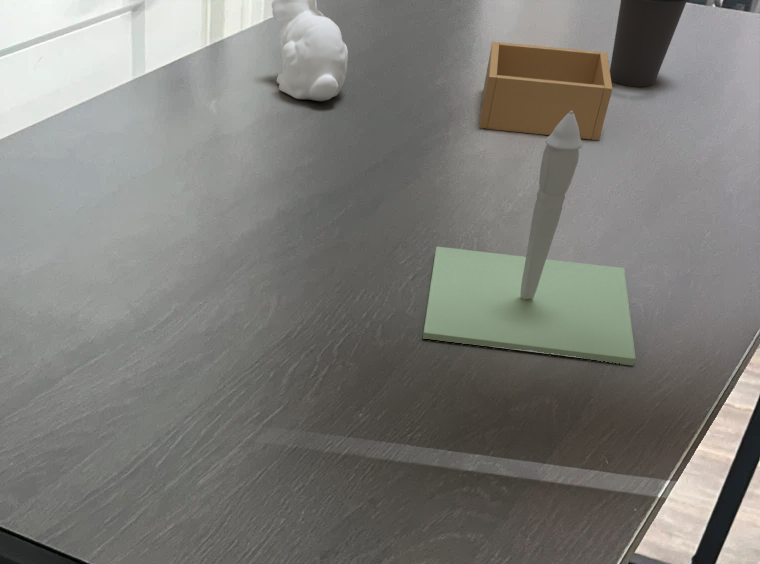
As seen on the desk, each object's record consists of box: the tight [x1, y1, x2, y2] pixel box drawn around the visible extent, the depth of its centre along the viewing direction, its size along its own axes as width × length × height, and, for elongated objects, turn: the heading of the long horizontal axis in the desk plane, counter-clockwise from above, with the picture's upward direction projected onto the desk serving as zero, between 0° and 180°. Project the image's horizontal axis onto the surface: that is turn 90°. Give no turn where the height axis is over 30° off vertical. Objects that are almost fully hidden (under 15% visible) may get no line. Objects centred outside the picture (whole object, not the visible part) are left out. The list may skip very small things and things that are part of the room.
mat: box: [422, 246, 636, 367], centre depth 89 cm, size 16×16×1 cm
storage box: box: [479, 41, 613, 141], centre depth 119 cm, size 13×13×5 cm
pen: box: [521, 111, 584, 300], centre depth 84 cm, size 2×3×14 cm
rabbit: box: [271, 0, 349, 102], centre depth 120 cm, size 12×9×12 cm
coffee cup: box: [609, 0, 690, 88], centre depth 127 cm, size 8×8×10 cm
